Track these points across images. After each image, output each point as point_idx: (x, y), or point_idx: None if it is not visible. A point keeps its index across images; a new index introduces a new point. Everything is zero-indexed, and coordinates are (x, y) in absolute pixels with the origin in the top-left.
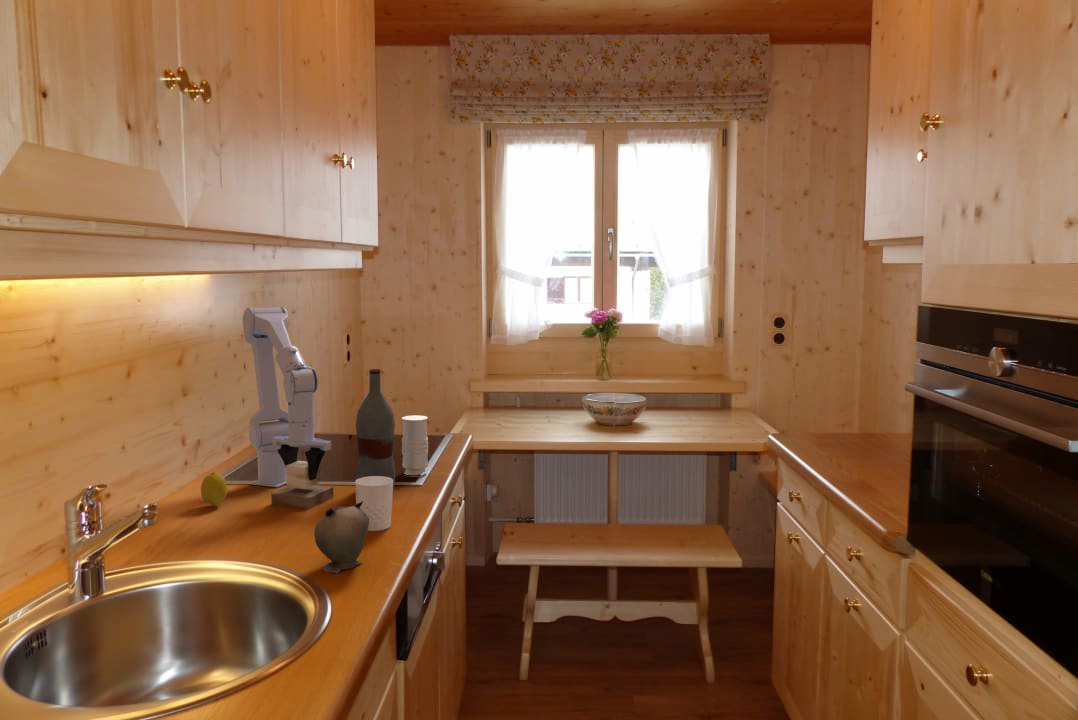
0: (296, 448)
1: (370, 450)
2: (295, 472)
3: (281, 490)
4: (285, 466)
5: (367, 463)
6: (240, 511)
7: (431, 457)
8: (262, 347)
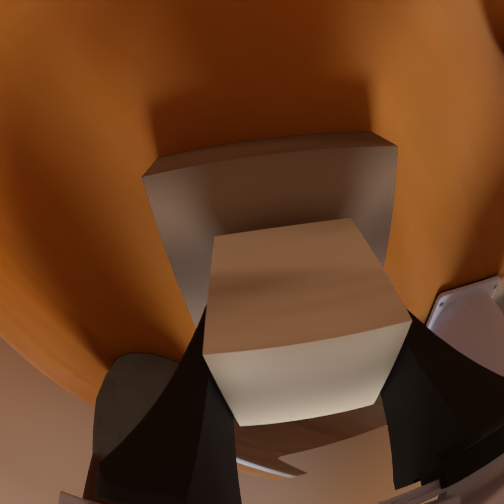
0: (401, 470)
1: None
2: (304, 298)
3: (380, 212)
4: (422, 323)
5: (115, 442)
6: (414, 5)
7: (248, 462)
8: None
